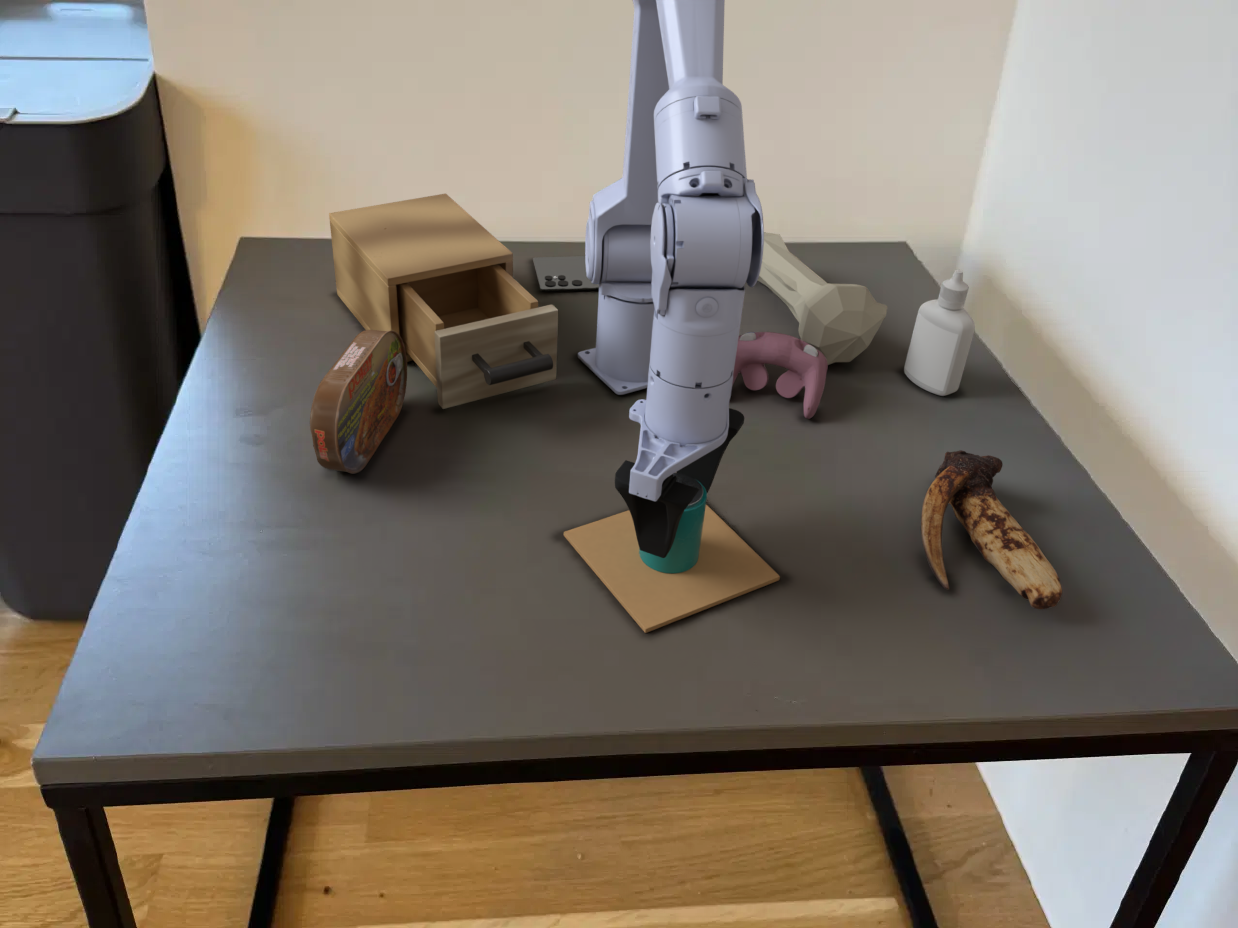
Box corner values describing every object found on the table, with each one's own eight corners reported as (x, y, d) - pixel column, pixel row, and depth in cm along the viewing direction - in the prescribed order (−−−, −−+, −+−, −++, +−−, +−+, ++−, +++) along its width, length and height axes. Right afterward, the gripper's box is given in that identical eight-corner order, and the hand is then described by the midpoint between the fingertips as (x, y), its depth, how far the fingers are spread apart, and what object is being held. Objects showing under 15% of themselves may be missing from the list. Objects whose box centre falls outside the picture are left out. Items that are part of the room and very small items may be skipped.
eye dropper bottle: (917, 398, 105) (946, 285, 98) (899, 367, 110) (926, 257, 103) (961, 398, 106) (993, 285, 99) (941, 367, 110) (971, 257, 103)
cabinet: (513, 337, 110) (513, 253, 105) (393, 365, 105) (387, 278, 99) (448, 272, 121) (445, 193, 115) (337, 294, 115) (328, 213, 110)
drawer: (578, 401, 100) (581, 331, 95) (462, 433, 95) (460, 360, 90) (488, 311, 112) (487, 245, 108) (381, 334, 107) (376, 266, 103)
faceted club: (802, 377, 105) (705, 271, 125) (874, 388, 109) (769, 284, 129) (838, 293, 101) (732, 198, 121) (912, 307, 105) (797, 212, 124)
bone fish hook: (873, 487, 94) (964, 633, 80) (882, 441, 92) (977, 584, 77) (975, 477, 96) (1082, 619, 81) (987, 432, 93) (1100, 570, 79)
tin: (347, 494, 89) (337, 406, 84) (310, 487, 89) (298, 400, 84) (412, 396, 101) (407, 314, 96) (380, 391, 101) (373, 309, 96)
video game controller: (819, 417, 104) (836, 344, 103) (814, 421, 100) (832, 345, 99) (718, 394, 107) (734, 322, 105) (709, 397, 102) (726, 322, 101)
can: (653, 527, 87) (659, 463, 83) (707, 545, 85) (716, 481, 82) (629, 561, 83) (634, 496, 80) (685, 581, 82) (693, 515, 78)
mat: (690, 492, 91) (691, 489, 91) (779, 580, 83) (780, 576, 83) (563, 535, 86) (563, 531, 86) (645, 633, 78) (645, 629, 78)
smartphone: (686, 284, 121) (541, 287, 118) (686, 289, 121) (540, 291, 118) (671, 253, 127) (532, 255, 124) (670, 258, 127) (532, 259, 124)
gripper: (677, 307, 81) (661, 456, 89) (591, 401, 70) (583, 561, 78) (768, 331, 79) (744, 482, 87) (694, 432, 68) (675, 593, 76)
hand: (673, 521), depth 83 cm, fingers open, 7 cm apart
